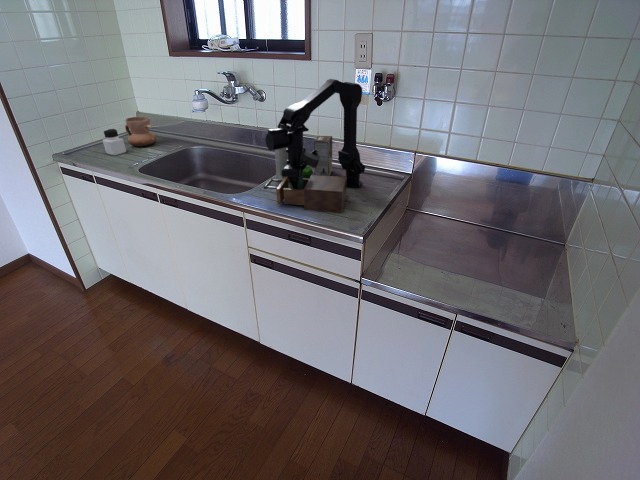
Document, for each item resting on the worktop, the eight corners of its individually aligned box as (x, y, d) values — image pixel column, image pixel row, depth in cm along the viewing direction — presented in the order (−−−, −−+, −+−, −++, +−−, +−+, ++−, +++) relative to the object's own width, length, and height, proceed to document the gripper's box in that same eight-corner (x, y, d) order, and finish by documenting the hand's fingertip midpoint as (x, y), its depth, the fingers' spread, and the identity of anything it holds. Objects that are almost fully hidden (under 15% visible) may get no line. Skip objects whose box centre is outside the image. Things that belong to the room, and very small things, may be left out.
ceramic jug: (165, 142, 208) (159, 116, 201) (145, 150, 197) (138, 122, 190) (140, 139, 214) (134, 114, 207) (120, 146, 203) (112, 119, 196)
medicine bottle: (126, 152, 194) (120, 129, 188) (114, 155, 189) (107, 132, 182) (118, 150, 197) (112, 127, 191) (106, 153, 192) (99, 130, 186)
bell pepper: (316, 184, 155) (316, 161, 150) (308, 191, 148) (307, 167, 143) (298, 181, 158) (297, 158, 153) (289, 188, 151) (288, 164, 146)
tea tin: (292, 186, 140) (291, 173, 138) (304, 187, 140) (304, 174, 137) (289, 191, 136) (288, 178, 134) (302, 192, 136) (301, 179, 133)
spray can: (295, 178, 161) (293, 131, 150) (287, 183, 155) (284, 136, 145) (281, 175, 163) (278, 130, 153) (273, 181, 158) (270, 134, 148)
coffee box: (318, 170, 169) (318, 135, 161) (332, 171, 168) (332, 135, 160) (314, 177, 161) (313, 140, 153) (328, 178, 160) (329, 141, 152)
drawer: (262, 203, 136) (261, 187, 133) (272, 190, 147) (271, 175, 144) (310, 207, 133) (310, 191, 130) (317, 193, 144) (317, 178, 141)
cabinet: (304, 209, 134) (303, 189, 130) (311, 194, 146) (311, 174, 142) (341, 212, 132) (342, 191, 128) (346, 196, 144) (346, 177, 139)
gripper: (312, 154, 120) (313, 198, 128) (322, 138, 136) (322, 178, 144) (279, 152, 122) (282, 196, 130) (293, 137, 138) (294, 177, 146)
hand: (297, 186), depth 137 cm, fingers closed on tea tin, 4 cm apart
